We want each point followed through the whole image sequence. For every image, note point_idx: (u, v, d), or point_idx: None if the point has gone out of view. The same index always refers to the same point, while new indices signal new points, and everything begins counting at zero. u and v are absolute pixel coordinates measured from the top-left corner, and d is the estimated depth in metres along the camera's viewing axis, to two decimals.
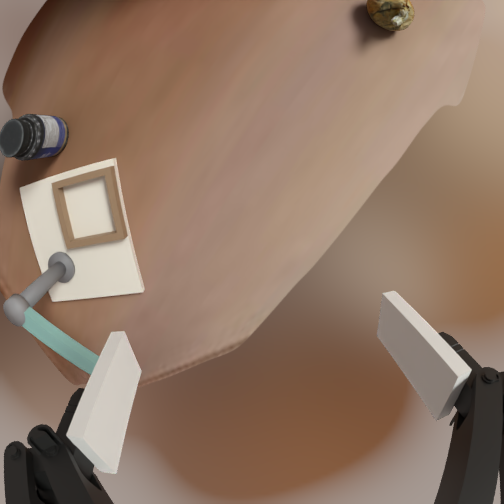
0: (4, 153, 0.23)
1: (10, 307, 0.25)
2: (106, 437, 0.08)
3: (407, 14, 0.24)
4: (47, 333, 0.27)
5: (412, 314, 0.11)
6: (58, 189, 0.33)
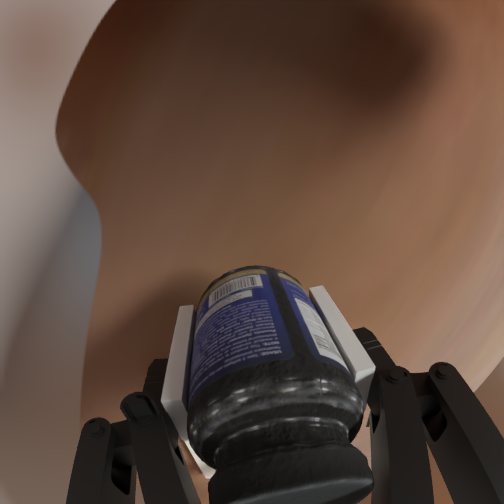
0: None
1: None
2: None
3: None
4: None
5: (331, 308, 0.13)
6: None
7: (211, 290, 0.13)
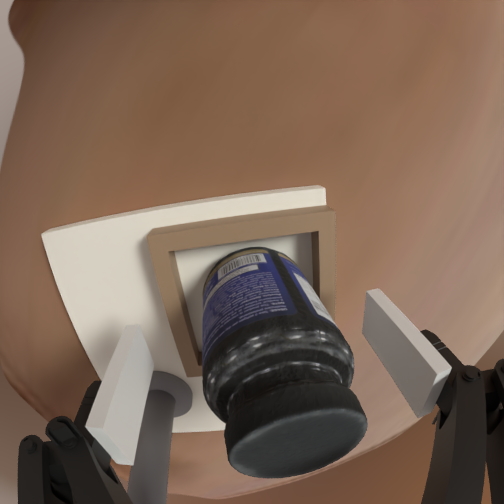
0: (260, 475, 0.08)
1: None
2: (124, 428, 0.09)
3: None
4: None
5: (394, 311, 0.12)
6: (168, 253, 0.15)
7: (219, 266, 0.15)
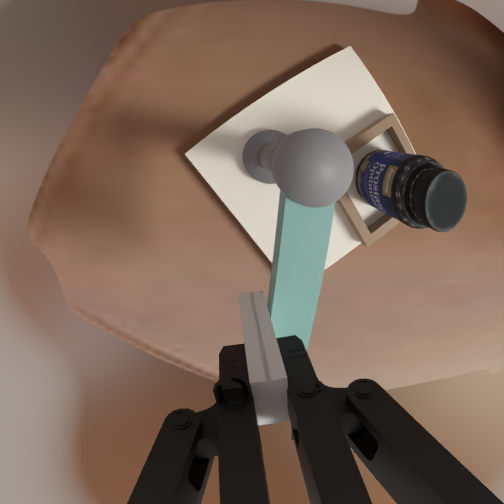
0: (429, 195, 0.17)
1: (330, 155, 0.12)
2: None
3: None
4: (317, 275, 0.14)
5: (262, 314, 0.13)
6: (389, 126, 0.24)
7: None
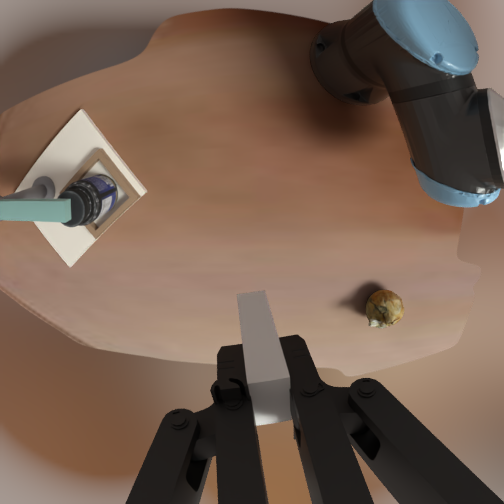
0: None
1: None
2: None
3: (383, 327, 0.47)
4: (16, 203, 0.25)
5: (264, 314, 0.13)
6: (97, 158, 0.37)
7: (103, 175, 0.38)
